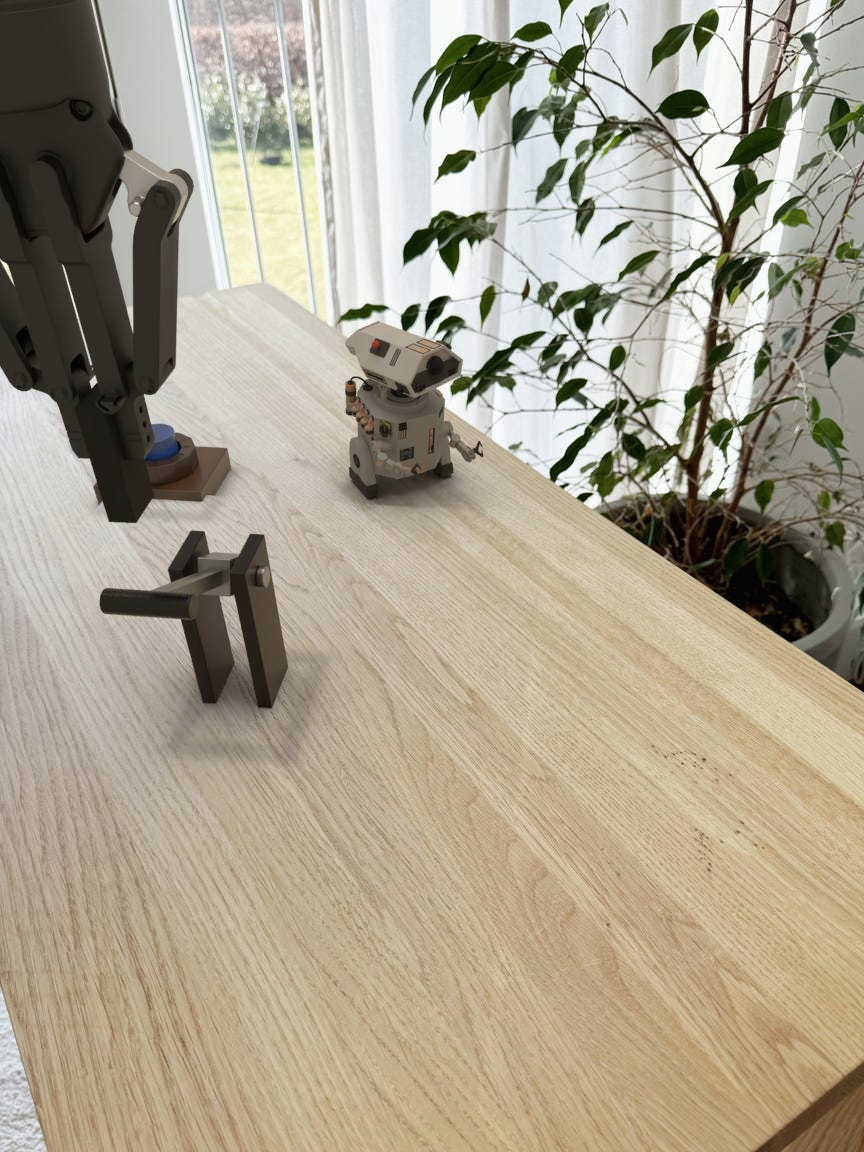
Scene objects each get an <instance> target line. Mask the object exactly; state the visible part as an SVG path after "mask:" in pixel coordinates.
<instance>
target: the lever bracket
mask: <svg viewBox="0 0 864 1152" xmlns="http://www.w3.org/2000/svg"><path fill="white" fill-rule="evenodd" d="M210 553H211V552H210V549H209V544H208V539H207V535H206V531H205V530H193V529H192V530H190V531H189V533H188V534H187V536H186V538H185V540H184V541H183V543H182V544H181V546H180V548H179V549H178V551H177V553H176V554H175V556H174V558H173V559H172V561H171V563H170V564H169V566H168V567H167V573H168V577H169V580H170V583H171V582H174V581H176V580H179V579H182V578H184V577H187V576H190V575H192V574H195V573H197V572H198V565H197V558H198V557H201V556H204V555H207V554H210ZM238 554H239V556H238V558H237V560H236V562H235V564H234V566H233V567H232V569H231V571H230V578H231V583H232V587H233V592H234V595H233V596H234V600H235V606H236V610H237V614H238V620H239V625H240V629H241V633H242V639H243V642H244V643H243V644H244V648H245V652H246V657H247V662H248V666H249V671H250V675H251V680H252V684H253V689H254V694H255V699H256V703H257V708H261V709H262V708H264V709H273V706H274V704H275V701H276V699H277V696H278V694H279V691H280V688H281V686H282V683H283V682H284V678H285V676H286V673H287V671H288V668H289V664H288V658H287V651H286V647H285V641H284V636H283V631H282V624H281V618H280V613H279V608H278V603H277V598H276V597H277V596H276V592H275V591H276V590H275V587H274V581H273V574H272V569H271V564H270V558H269V552H268V548H267V542H266V537H265V534H263V533H249V535H248V537H247V538H246V540H245V542H244V544H243V546H242V548H241V549H240V551H239V553H238ZM197 599H198V611H197V615H196V617H195V618H194V619H193V620H184V619H180V622H181V626H182V629H183V635H184V637H185V641H186V644H187V649H188V653H189V657H190V660H191V664H192V668H193V672H194V676H195V679H196V682H197V686H198V691H199V695H200V699H201V701H202V704H211V705H212V704H213V705H216V704H217V703H218V700H219V698H220V696H221V694H222V692H223V689H224V687H225V685H226V683H227V680H228V678H229V676H230V673H231V671H232V670H233V667H234V665H235V658H234V654H233V650H232V646H231V645H232V644H231V640H230V636H229V633H228V628H227V623H226V619H225V615H224V610H223V605H222V602H221V596H213V595H199V596H197Z"/></svg>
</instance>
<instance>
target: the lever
mask: <svg viewBox="0 0 864 1152" xmlns="http://www.w3.org/2000/svg"><path fill="white" fill-rule="evenodd" d="M239 554H240V553H236V552H234V553H233V552H220V551H213V552H210V554H207V555H204V556H201V557H198V558H197V565H198V572H197V573H195V574H192V575H190V576H187V577H184V578H182V579H179V580H176V581H174V582H171V581H170V582H168V583H166V584H164V585H160V586H158V587H156V588H153V589H150V590H146V589H132V588H131V589H130V588H117V587H105V588H103V589H102V591H100V595H99V609H100V611H101V613H102V614H104V615H110V616H111V615H113V616H126V617H127V616H129V617H141V618H143V617H144V618H154V619H155V618H157V619H170V620H171V619H173V620H181V619H184V620H193V619H194V618H195V617H196V615H197V611H198V599H197V596H199V595H213V596H220V597H233V596H234V592H233V587H232V583H231V578H230V571H231V569H232V567H233V566H234V564H235V562H236V560H237V558H238V556H239Z"/></svg>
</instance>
